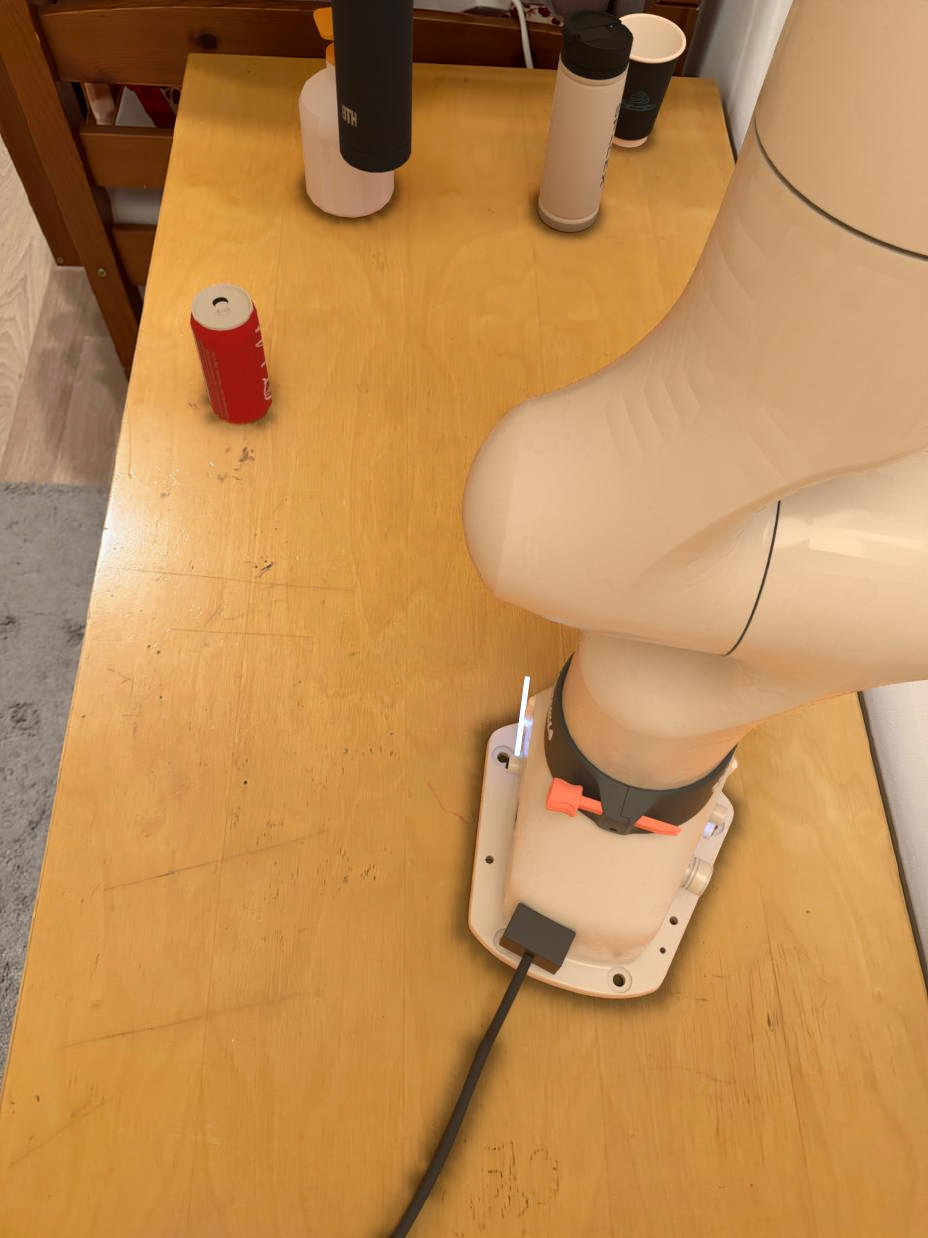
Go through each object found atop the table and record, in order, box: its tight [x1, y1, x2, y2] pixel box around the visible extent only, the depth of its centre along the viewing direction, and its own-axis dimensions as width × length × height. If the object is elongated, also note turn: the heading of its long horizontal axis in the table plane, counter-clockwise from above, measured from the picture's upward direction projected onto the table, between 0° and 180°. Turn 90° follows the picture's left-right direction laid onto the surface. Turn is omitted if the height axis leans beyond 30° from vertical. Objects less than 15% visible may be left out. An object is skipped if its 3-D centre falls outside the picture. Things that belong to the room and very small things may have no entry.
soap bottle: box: [298, 6, 395, 219], centre depth 94 cm, size 9×9×25 cm
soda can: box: [189, 282, 273, 424], centre depth 86 cm, size 6×6×12 cm
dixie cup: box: [612, 13, 687, 148], centre depth 107 cm, size 8×8×11 cm
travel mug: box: [537, 9, 634, 233], centre depth 96 cm, size 6×7×20 cm
